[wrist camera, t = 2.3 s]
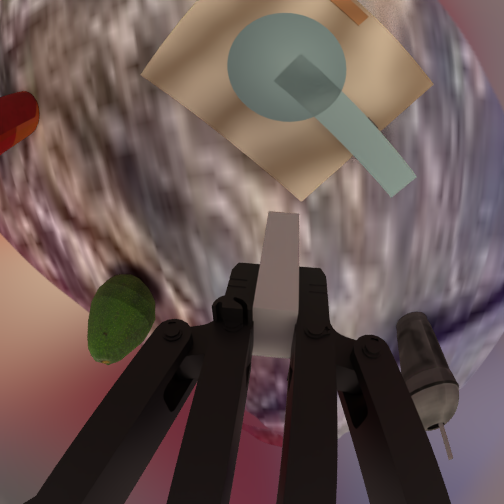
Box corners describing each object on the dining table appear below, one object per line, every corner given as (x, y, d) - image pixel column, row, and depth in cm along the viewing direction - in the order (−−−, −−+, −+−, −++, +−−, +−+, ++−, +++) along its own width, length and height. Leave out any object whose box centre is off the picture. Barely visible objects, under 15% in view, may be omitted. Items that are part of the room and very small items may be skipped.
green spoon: (215, 70, 19) (203, 73, 16) (281, 0, 15) (280, -9, 13) (359, 198, 23) (367, 217, 21) (424, 143, 20) (440, 156, 17)
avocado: (119, 302, 41) (84, 370, 31) (104, 258, 36) (57, 328, 27) (170, 310, 40) (141, 385, 31) (160, 264, 36) (120, 344, 26)
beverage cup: (376, 327, 38) (395, 472, 22) (418, 296, 34) (460, 448, 18) (404, 345, 40) (426, 474, 24) (444, 318, 36) (481, 451, 20)
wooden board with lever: (147, 73, 23) (126, 78, 19) (266, -60, 14) (262, -77, 11) (300, 194, 28) (301, 215, 25) (426, 82, 20) (446, 88, 17)
